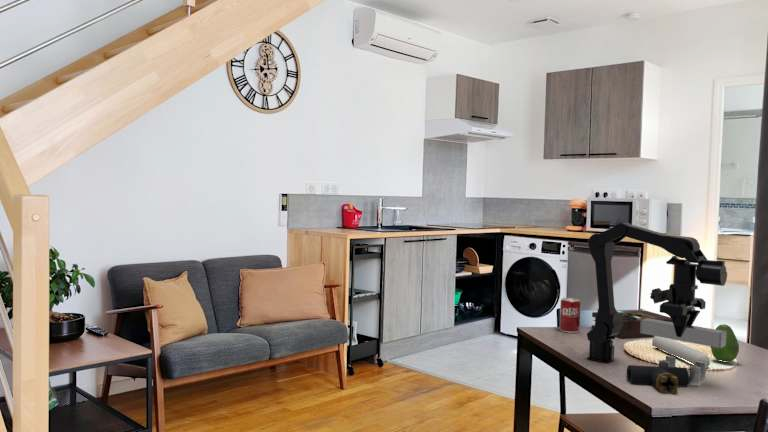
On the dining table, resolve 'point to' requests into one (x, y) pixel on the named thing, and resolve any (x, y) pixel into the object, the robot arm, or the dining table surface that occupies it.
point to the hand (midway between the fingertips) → (681, 335)
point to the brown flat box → (635, 323)
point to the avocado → (731, 346)
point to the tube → (680, 350)
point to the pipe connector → (659, 377)
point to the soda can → (570, 315)
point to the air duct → (684, 333)
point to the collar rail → (695, 372)
